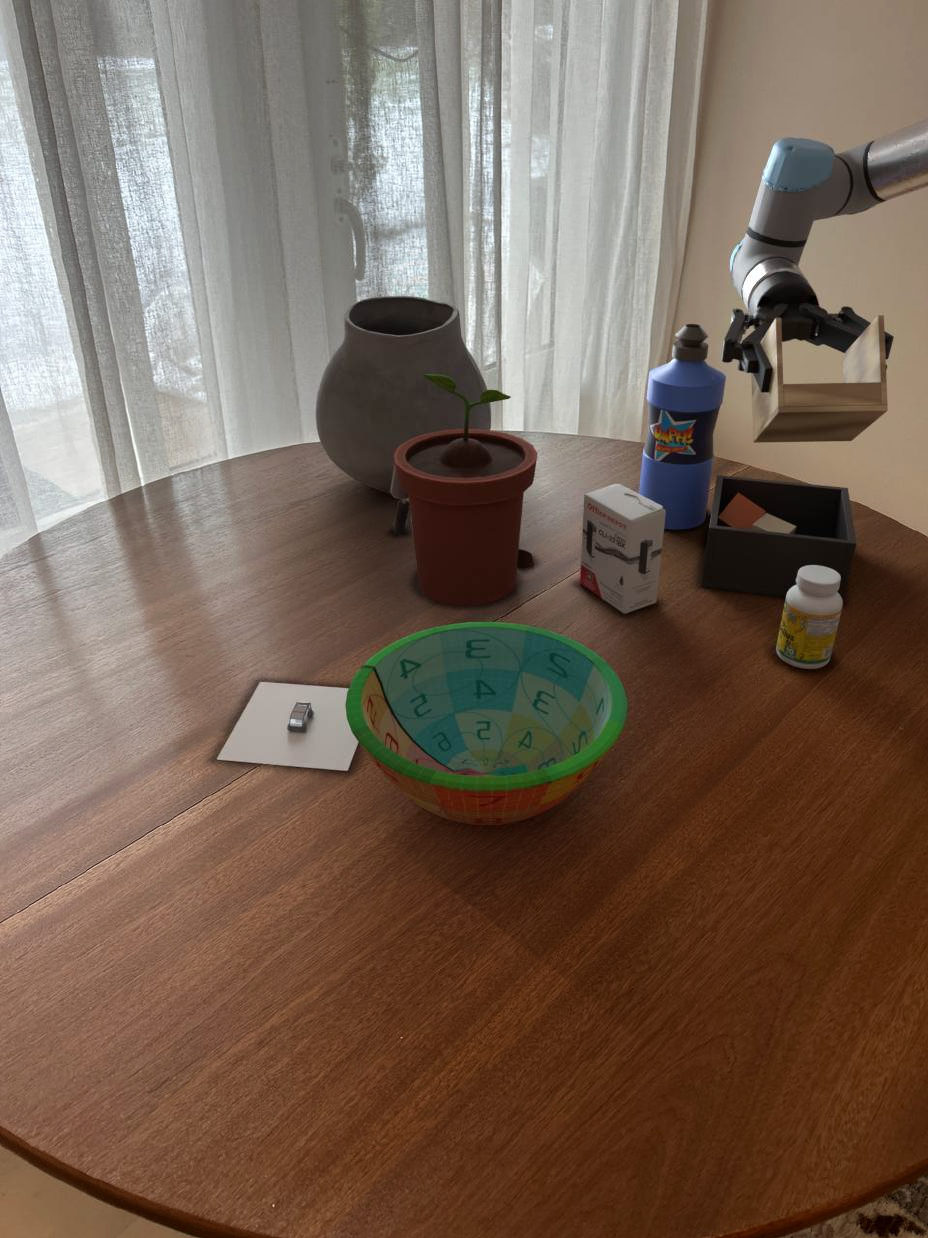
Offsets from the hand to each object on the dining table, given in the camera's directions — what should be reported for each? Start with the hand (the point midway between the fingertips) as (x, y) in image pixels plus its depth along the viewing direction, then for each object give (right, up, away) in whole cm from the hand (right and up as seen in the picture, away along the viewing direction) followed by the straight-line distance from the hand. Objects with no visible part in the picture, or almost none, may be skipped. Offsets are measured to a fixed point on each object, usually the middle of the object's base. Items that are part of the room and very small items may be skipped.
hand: (823, 379), depth 96 cm
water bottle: (-10, -11, +28) cm, 32 cm away
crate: (0, -5, +2) cm, 5 cm away
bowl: (-36, -40, -17) cm, 56 cm away
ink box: (-20, -22, +11) cm, 32 cm away
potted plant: (-38, -19, +16) cm, 45 cm away
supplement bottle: (-3, -29, -1) cm, 29 cm away
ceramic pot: (-46, -5, +39) cm, 60 cm away
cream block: (-1, -17, +17) cm, 24 cm away
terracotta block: (-5, -14, +18) cm, 23 cm away
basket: (0, -18, +16) cm, 24 cm away
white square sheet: (-53, -35, -9) cm, 64 cm away
